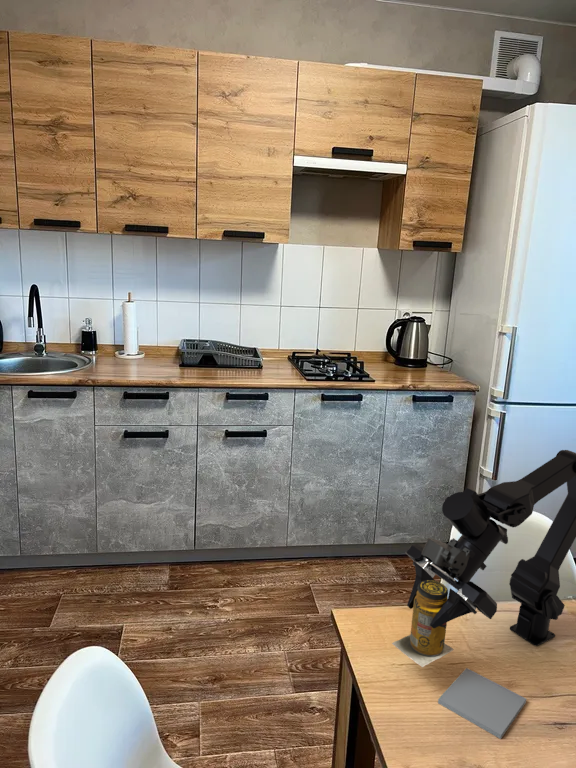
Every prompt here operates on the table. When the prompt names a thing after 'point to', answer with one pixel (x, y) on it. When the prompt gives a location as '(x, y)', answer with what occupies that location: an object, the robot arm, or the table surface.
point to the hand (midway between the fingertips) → (419, 616)
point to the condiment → (426, 625)
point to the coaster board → (482, 702)
